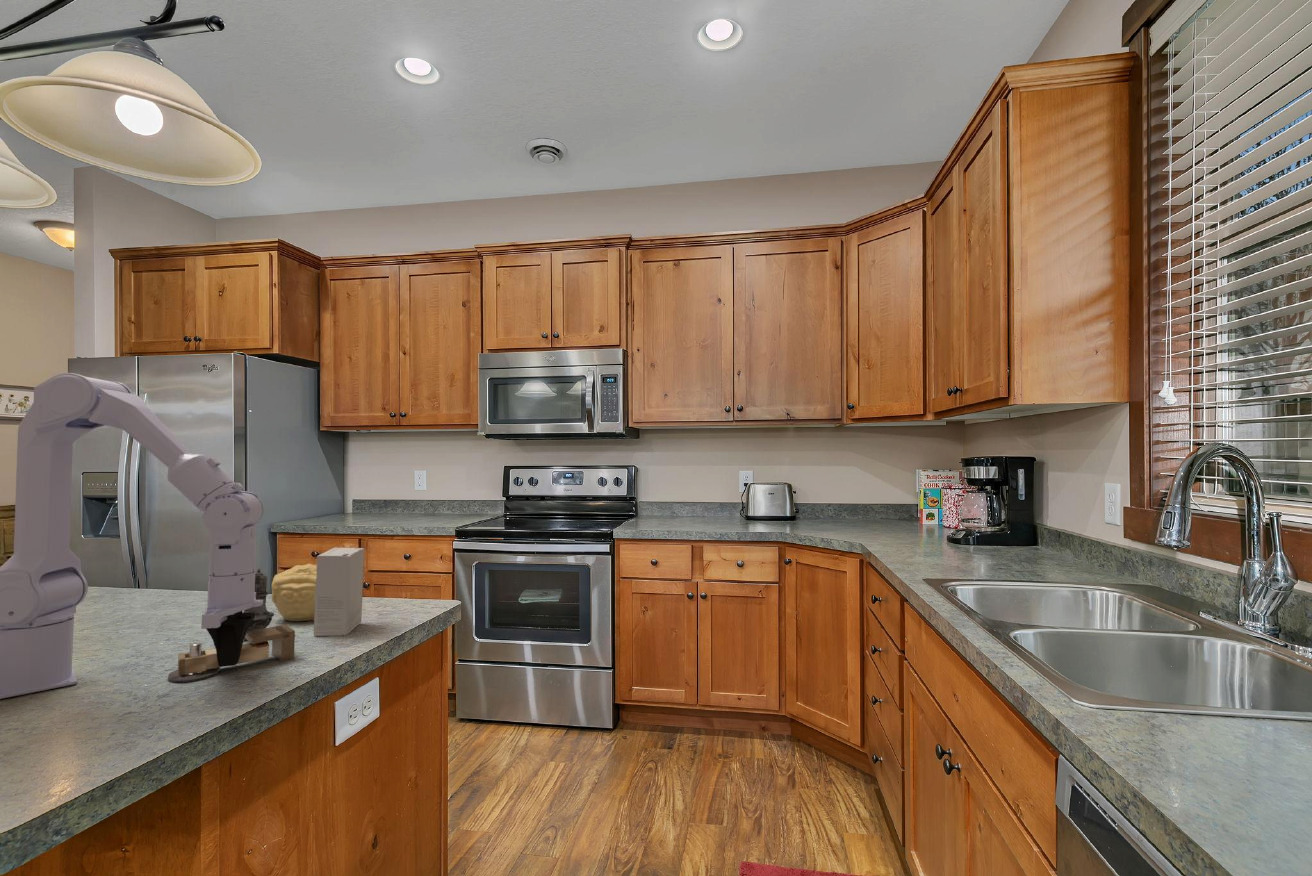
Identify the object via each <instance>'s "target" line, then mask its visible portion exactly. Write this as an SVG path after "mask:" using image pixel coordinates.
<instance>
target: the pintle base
mask: <svg viewBox="0 0 1312 876" xmlns="http://www.w3.org/2000/svg"><path fill="white" fill-rule="evenodd" d="M201 650H203V649H202V642H193V643H191V644H189V658H190V657H196V656H201ZM220 671H221V667H217V668H212V669H206V671H201V672H195V673H190V674H184V675H178V669H175V670H173V671H171V672H170V673H169V674H168V676H167V677H168V678H167V680H168V682H170V683H175V684H177V683H180V684H181V683H191V682H197V681H203V680H206V679H209V678H212V677H214V676H216V675H218V674H219V673H220Z"/></svg>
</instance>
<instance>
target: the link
mask: <svg viewBox="0 0 1312 876" xmlns="http://www.w3.org/2000/svg"><path fill="white" fill-rule="evenodd" d="M269 654H270V644H269V641H265V642H260V643H255V644H251V643H250V642H249V643H248V642H247V643H243V645H242V648H241V654H240V658H239V661H238V663H237V664H236V665H239V664H245V663H250V662H256V661H260V660H261V661H262V660H267V659H269V658H270V657H269V656H270V655H269ZM177 659H178V663H177V670H178V675H184V674H190V673H195V672H201V671H206V669H212V668H217V667H219V665H218V661H217V653H216V648H211V649H201V656H196V657H190V658H189V652H181V653H178V656H177ZM222 667H224V666H222ZM222 667H221V668H222Z"/></svg>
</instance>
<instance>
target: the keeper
mask: <svg viewBox="0 0 1312 876" xmlns="http://www.w3.org/2000/svg"><path fill="white" fill-rule="evenodd" d="M295 637H296V631H295V630H294V629H293V628H291V627H290V626H288V625H287V624H283V625H277V626H271V627H266V628H264V629H258V630H253V631H247V633H246V635H245V639H246V640H245V641H247V642H249V643H251V644H255V643H260V642H265V641H268V642H269V641H270V642H271V655H273V657H275V658H276V659H278V660H279V661H280V660H281V661H280V662H283V661H282V660H285V661H289V660H292V659H291V658H294V659H295V644H296V643H295V639H296V638H295ZM288 659H289V660H288Z"/></svg>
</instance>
